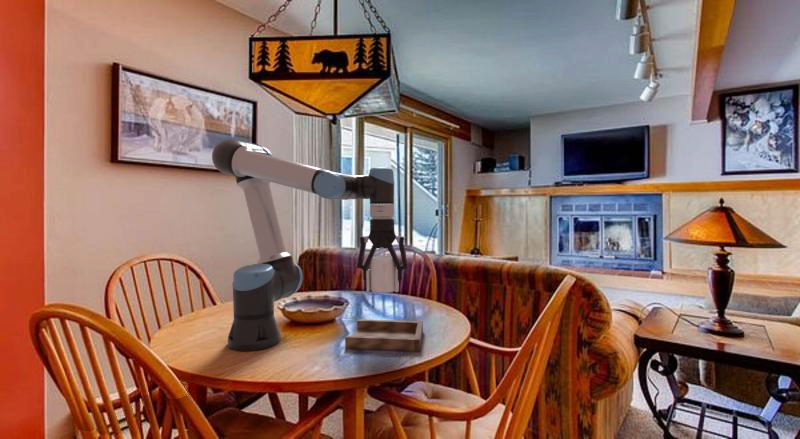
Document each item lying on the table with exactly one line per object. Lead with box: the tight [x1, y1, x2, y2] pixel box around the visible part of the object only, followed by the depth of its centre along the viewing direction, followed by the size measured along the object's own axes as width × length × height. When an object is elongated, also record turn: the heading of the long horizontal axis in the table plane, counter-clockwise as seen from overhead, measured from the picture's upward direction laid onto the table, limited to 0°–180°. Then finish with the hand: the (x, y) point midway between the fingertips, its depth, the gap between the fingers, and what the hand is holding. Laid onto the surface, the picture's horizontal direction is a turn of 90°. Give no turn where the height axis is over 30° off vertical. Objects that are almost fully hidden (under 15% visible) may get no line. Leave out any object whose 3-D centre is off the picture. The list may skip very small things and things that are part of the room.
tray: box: [344, 318, 424, 353], centre depth 126 cm, size 22×18×4 cm
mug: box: [369, 255, 397, 294], centre depth 124 cm, size 12×8×10 cm
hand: (382, 290), depth 125 cm, fingers closed on mug, 8 cm apart
